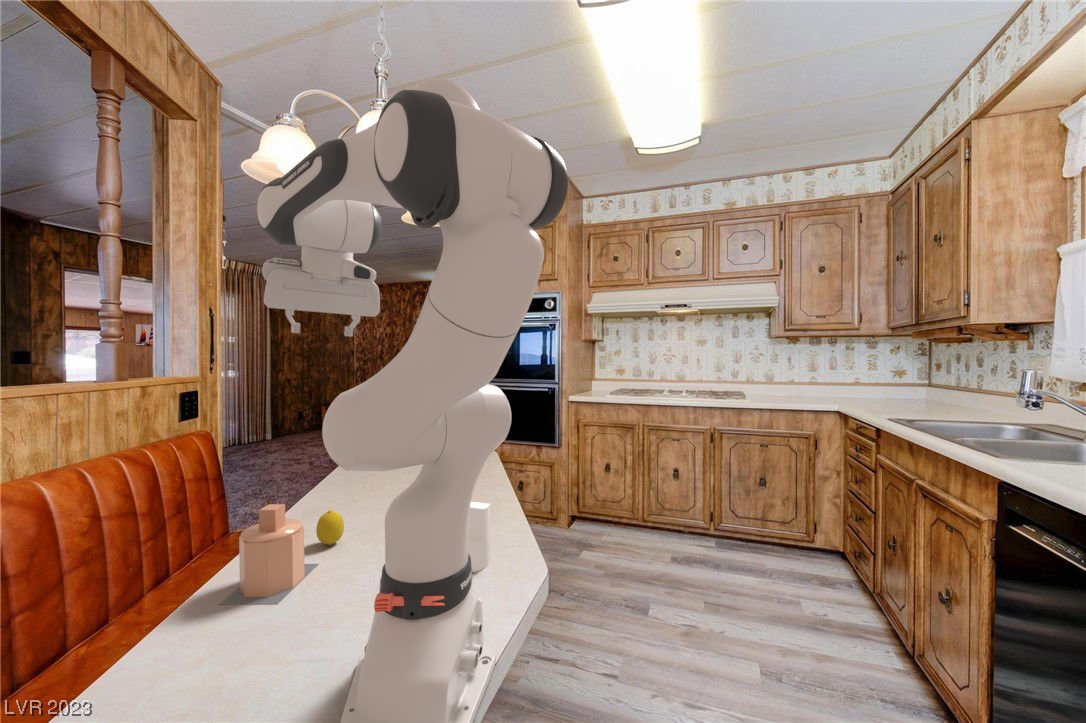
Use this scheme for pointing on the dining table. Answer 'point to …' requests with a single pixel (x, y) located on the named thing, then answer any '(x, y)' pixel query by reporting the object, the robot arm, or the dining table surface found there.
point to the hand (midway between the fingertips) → (322, 334)
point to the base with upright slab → (479, 535)
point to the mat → (240, 599)
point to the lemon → (330, 527)
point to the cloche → (271, 553)
